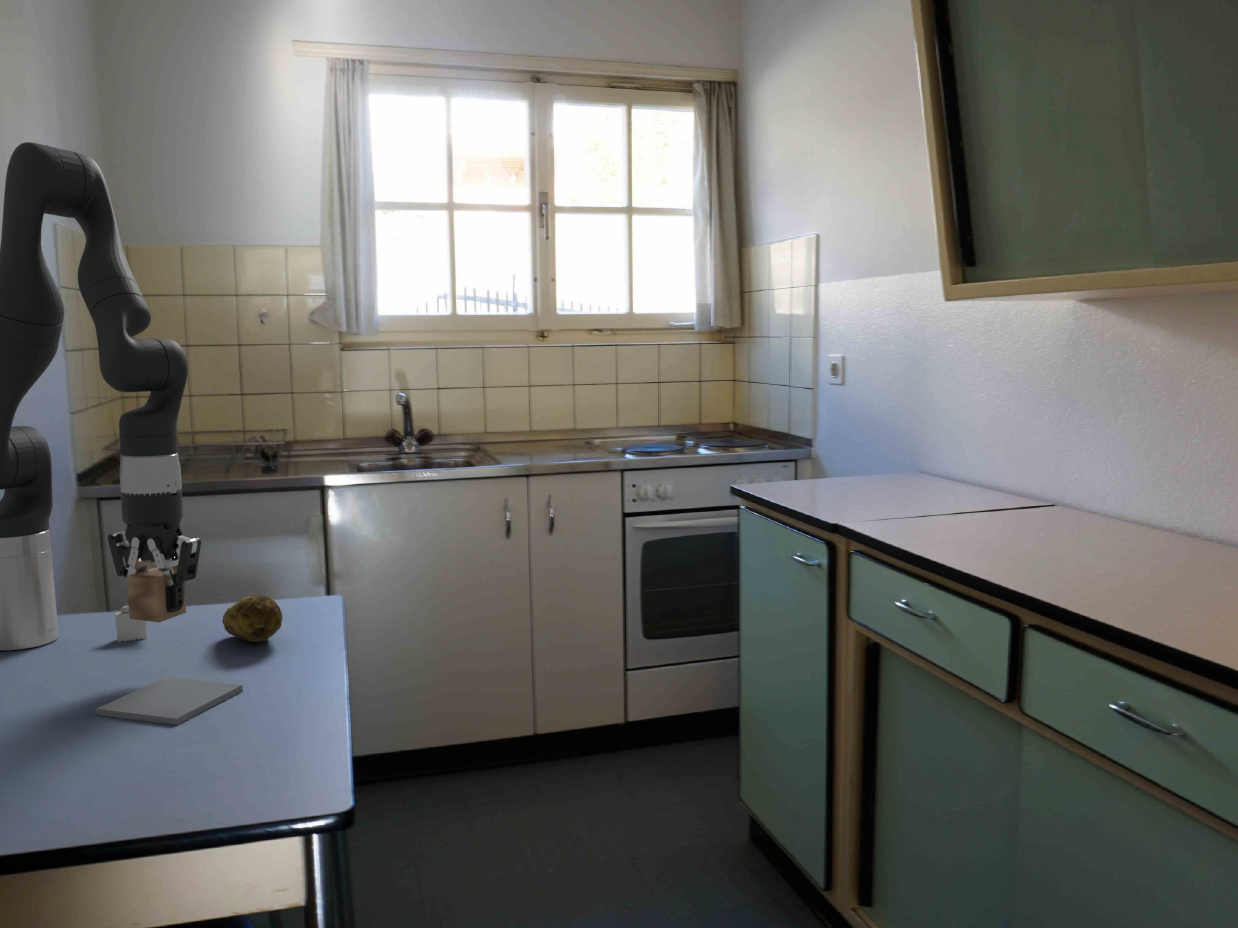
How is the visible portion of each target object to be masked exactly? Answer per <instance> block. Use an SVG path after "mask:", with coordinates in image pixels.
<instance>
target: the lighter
mask: <svg viewBox="0 0 1238 928" xmlns="http://www.w3.org/2000/svg"><path fill="white" fill-rule="evenodd" d="M119 610H120V611H116V612H115V626H116V627H115V628H116V641H117V643H121V641H123V642H128V641H130V640H131V641H137V640H136V639H138V640H145V639H147V638H148V632H147V621H143V620H134V619H129V604H128V605H124V606H122V607H120V609H119Z"/></svg>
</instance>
